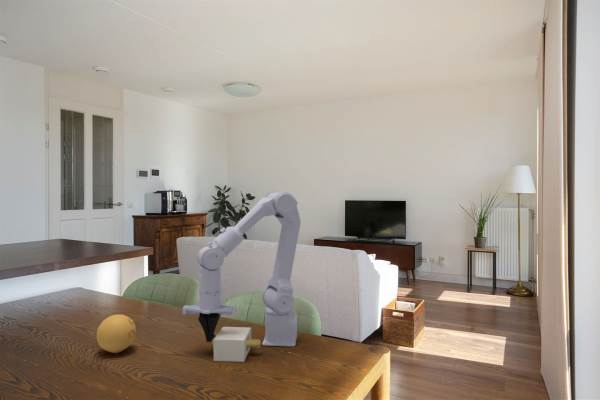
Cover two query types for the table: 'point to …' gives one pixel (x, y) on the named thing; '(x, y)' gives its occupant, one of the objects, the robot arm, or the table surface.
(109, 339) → the stress ball
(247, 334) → the block
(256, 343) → the pin
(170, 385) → the table surface
